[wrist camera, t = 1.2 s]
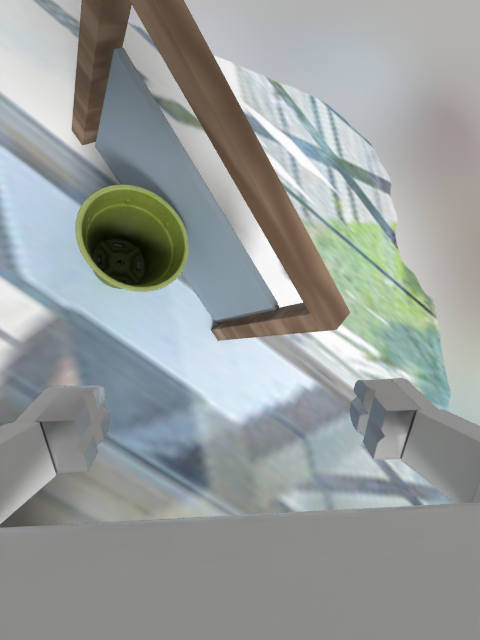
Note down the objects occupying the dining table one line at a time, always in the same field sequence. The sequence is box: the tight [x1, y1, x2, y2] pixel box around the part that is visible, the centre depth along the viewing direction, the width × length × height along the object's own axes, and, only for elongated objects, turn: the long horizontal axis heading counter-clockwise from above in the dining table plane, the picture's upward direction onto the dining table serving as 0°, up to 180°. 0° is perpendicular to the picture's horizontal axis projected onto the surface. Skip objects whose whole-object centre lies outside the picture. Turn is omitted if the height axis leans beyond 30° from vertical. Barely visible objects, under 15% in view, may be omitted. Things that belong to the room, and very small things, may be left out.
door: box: [95, 48, 279, 323], centre depth 37 cm, size 3×30×15 cm, turn 39°
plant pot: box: [76, 185, 189, 292], centre depth 36 cm, size 12×12×11 cm
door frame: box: [72, 0, 350, 341], centre depth 34 cm, size 3×36×24 cm, turn 39°
